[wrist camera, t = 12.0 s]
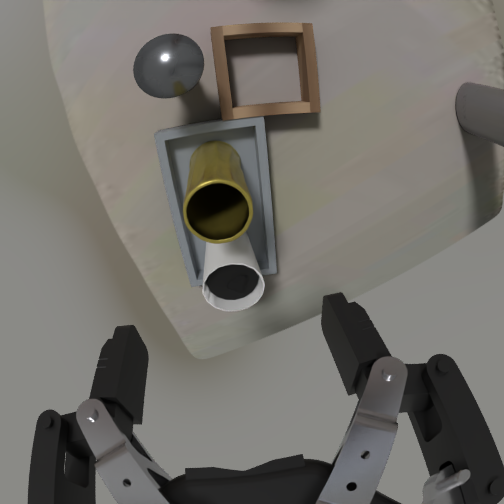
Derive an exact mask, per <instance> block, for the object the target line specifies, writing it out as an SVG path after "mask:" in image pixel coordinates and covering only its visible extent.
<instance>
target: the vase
mask: <svg viewBox="0 0 504 504" xmlns="http://www.w3.org/2000/svg"><path fill="white" fill-rule="evenodd" d="M189 169H190V171H189V175H188V182H187V189H186V194H185V199H184V203H183V216H184V221H185V224H186V226H187V227H188V229H189V230H190V231H191V233H193V234H194V235H195V236H197V237H198V238H199V239H201V240H203V241H206V242H209V243H214V244H221V243H227V242H231V241H234V240H235V239H237V238H239V237H240V236H241V235H243V234H244V233H245V231H246V230H247V229H248V227H249V225H250V223H251V220H252V217H253V204H252V198H251V195H250V193H249V190H248V187H247V185H246V182H245V178H244V174H243V171H242V169H241V160H240V156H239V154H238V152H237V151H236V150H235V149H234V148H233V147H232V146H231V145H230V144H228V143H225V142H222V141H209V142H206V143H204V144H202V145H200V146H199V147H198V148H197V149H196V150H195V151H194V152H193V154H192V156H191V159H190V164H189Z"/></svg>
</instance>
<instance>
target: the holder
mask: <svg viewBox="0 0 504 504" xmlns="http://www.w3.org/2000/svg"><path fill="white" fill-rule="evenodd" d="M258 37H295V38H296V47H297V56H298V66H299V76H300V87H301V99H302V101H296V102H279V103H266V104H255V105H246V106H237V107H232V100H231V92H230V84H229V76H228V68H227V60H226V52H225V44H224V40H232V39H244V38H258ZM211 40H212V48H213V56H214V64H215V72H216V79H217V87H218V95H219V102H220V110H221V117H222V120H223V121H224V120H231V119H239V118H247V117H256V116H266V115H278V114H292V113H311V112H320V97H319V84H318V72H317V61H316V51H315V42H314V34H313V26H312V23H252V24H238V25H227V26H218V27H211Z"/></svg>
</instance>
